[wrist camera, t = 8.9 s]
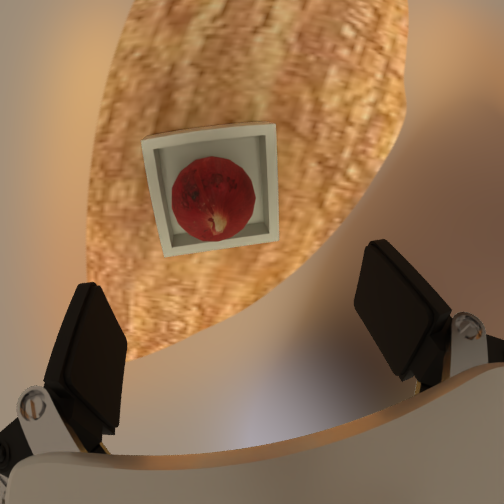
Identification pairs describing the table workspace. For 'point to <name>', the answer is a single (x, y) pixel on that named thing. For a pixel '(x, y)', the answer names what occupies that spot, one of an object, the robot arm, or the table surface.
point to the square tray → (224, 146)
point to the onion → (213, 199)
